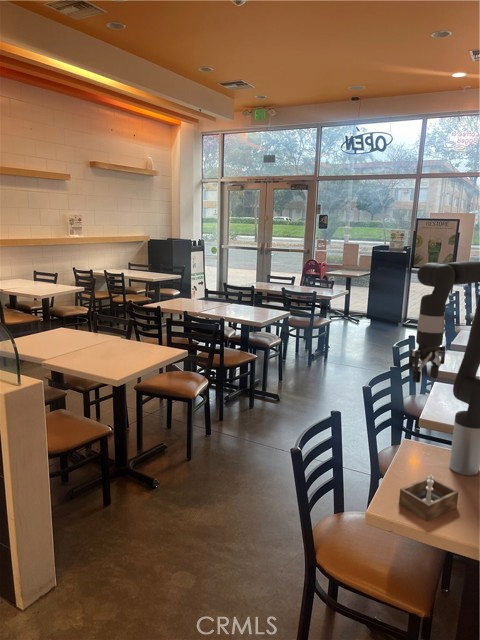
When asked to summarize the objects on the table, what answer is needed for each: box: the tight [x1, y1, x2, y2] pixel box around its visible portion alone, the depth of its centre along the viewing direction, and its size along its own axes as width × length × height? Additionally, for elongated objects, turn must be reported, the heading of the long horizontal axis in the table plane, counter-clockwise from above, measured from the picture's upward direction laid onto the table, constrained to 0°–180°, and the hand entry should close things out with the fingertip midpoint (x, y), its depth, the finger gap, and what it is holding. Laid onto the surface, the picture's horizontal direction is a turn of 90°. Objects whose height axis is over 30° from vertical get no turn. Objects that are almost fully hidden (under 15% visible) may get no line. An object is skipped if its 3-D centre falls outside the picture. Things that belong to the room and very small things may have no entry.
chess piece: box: [421, 474, 435, 504], centre depth 139 cm, size 5×5×10 cm
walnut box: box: [398, 477, 459, 522], centre depth 139 cm, size 14×10×5 cm
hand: (425, 379), depth 144 cm, fingers open, 8 cm apart
